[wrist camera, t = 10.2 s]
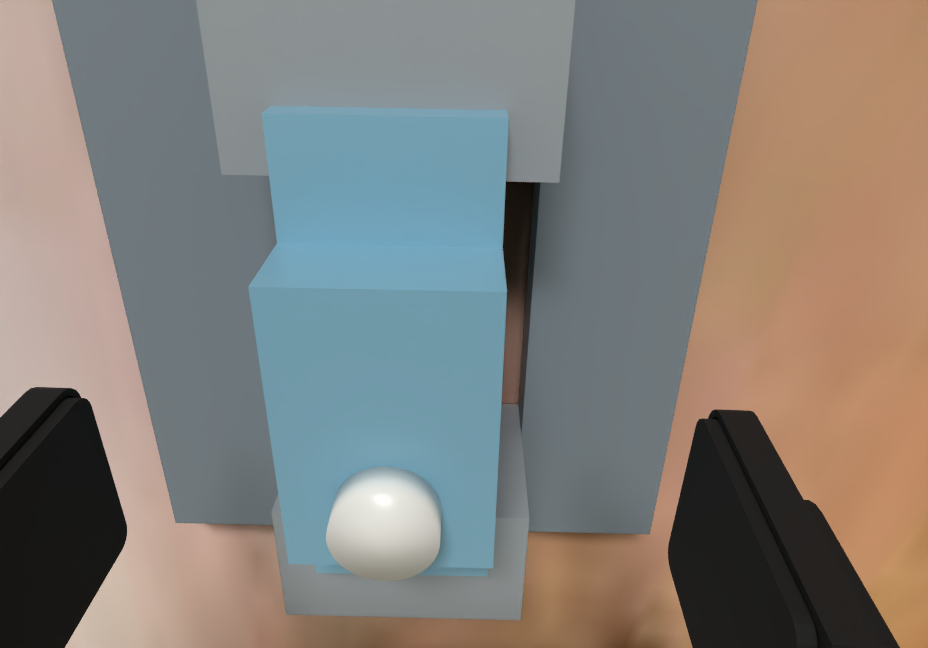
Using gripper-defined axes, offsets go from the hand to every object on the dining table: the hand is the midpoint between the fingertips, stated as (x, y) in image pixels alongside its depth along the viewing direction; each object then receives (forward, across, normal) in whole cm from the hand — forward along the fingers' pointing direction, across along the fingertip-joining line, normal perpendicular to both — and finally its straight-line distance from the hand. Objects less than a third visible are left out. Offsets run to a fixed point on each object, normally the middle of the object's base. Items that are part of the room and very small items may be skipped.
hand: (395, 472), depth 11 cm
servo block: (+8, 0, +1) cm, 8 cm away
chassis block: (+8, 0, 0) cm, 8 cm away
